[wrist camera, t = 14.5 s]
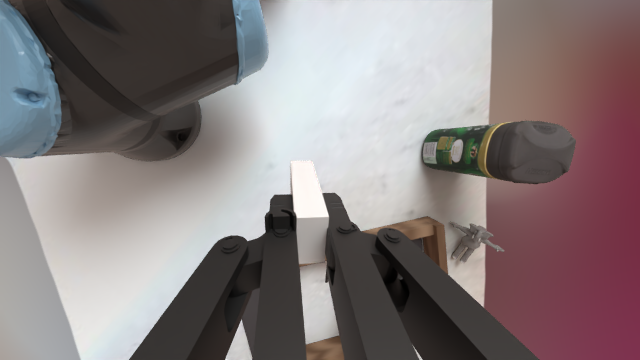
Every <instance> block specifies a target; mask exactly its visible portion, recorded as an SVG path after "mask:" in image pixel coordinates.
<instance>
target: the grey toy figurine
mask: <svg viewBox="0 0 640 360" xmlns="http://www.w3.org/2000/svg"><path fill="white" fill-rule="evenodd" d="M450 224H452V225H453V227H456V228H458V229H460V230H461V231H463V232H464V233H466V234H467V235H465V236H464V237H463V238H462V243H461V244H460V245H459V247H458V248H457V250H456V251H455V252H454V253H453V254H452V257H453V258H454V259H456V258H457V257H458V256H459V254H460V253H461V252H462V251H463V250H464V248H465V247H468V249H467V251H466V252H465V253H464V255H463V256H462V257H461V259H460V261H461V262H462V263H465V262H466V260H467V259H468V257H469V256H470V255H471V254H472V253H473V251H474V249H476V248H478V247H479V246H480V243H481V242H482V243H485V244H487V245H490V246H492V247H493V248H494V249H496V251H498V250H500V251H502V252H504V250H503V249H502V248H500V247H499V246H497V245H494V244H492V243H491V242H490V241H489V240H487V238H489V237H493V235H492V234H491V233H489V232H487V231H486V229H485V228H484V227H482V226H476V225H474V224H470V229H468V228H466V227H462V226H459V225H457V223H453V222H451V221H450Z"/></svg>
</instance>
